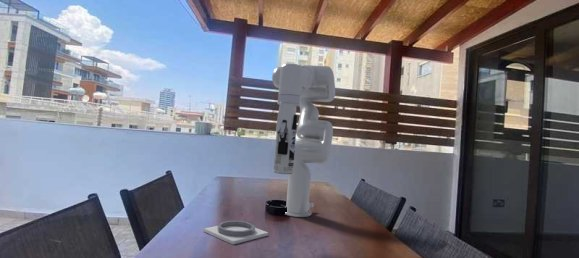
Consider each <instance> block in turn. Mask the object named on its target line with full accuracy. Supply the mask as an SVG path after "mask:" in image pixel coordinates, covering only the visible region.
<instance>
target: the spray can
mask: <svg viewBox="0 0 579 258" xmlns="http://www.w3.org/2000/svg"><path fill="white" fill-rule="evenodd" d="M297 126H298V115H297V114H296V115H294V118H293V126H292V131H291V134H289V135H288V142H287V143H288V153H287V155H283V154H278V142H279V136H280V132H279V131H278V133H276V134H275V144H274V145H275V147H274V148H275V149H274V158H273V159H274V160H273V173H275V174H278V175H289V174H292V173H293V165H294V153H295V140H297V139H296V137H297ZM286 127H287V125H286ZM280 130H281V129H280ZM285 133H287V131H286V129H285Z"/></svg>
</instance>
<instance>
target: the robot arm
mask: <svg viewBox="0 0 579 258" xmlns="http://www.w3.org/2000/svg"><path fill="white" fill-rule="evenodd" d="M271 75H272V77H271V80H272V84H273V86H274V87H276V88H277V89H278V94H277V95H278V97H277V105H279V107H278V113H277V117H276V118H277V120H276V125H275V126H276V128H275V132H276V133H278V131H279V132H280V136H279V142H278V154H283V155H287V153H288V143H287V142H288V135H289V134H291V131H292V126H293V118H294V115H297V107H299V111H300V112H299V113H300V114H299V117H298V118H299V119H298V121H297V127H296V137H297V138H298V139H296V140H295V153H294V165H293V173H292V174H288V180H287V189H286V190H287V191H286V192H287V193H286V205H285V208H286V207H287V212H285V214H284V215H286V216H289V217H295V218H307V217H310V216H311V215H312V211H311V210H310V208H314V206H315V203H313V202H310V193H311V192H310V191H311V179H312V173H311V169H310V167H309V166H308V164H316V165H325V164H327V163H328V162H329V159H330V156H331V149H332V143H333V136H334V135H333V133H334V128H333V124H332V122H331V121H328V120H321V119H319V117H320V113H319V110H318V108H317V107H316V105H314V103H313V102H323V103H330V102H332V101H333V100H334V99H335V97H336V83H335V75H334V71H333V69H332V68H331V67H330V66H327V65H312V64H311V65H309V64H308V65H300V64H298V63H297V64H296V63H284V64H282V65H281V66H277V67H276V68H275V69H274V70H273V72H272V74H271ZM286 125H287V127H286ZM280 129H281V130H280ZM285 129H286V131H287V133H285Z"/></svg>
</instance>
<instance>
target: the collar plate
mask: <svg viewBox="0 0 579 258" xmlns="http://www.w3.org/2000/svg"><path fill="white" fill-rule="evenodd" d="M203 232H204V233H207V234H208V235H211V236H212V237H215V238H217V239H219V240H222V241H225V242H226V243H228V244H231V245H236V244H241V243H245V242H248V241H251V240H255V239H261V238H264V237H268V236H269V232H267V231H265V230H262V229H260V228H257V227H256V226H255V225H254V224H253V223H250V222H247V221H241V220H226V221H220V222H219V223H218V224H217V225H214V226H211V227H205V228H203Z"/></svg>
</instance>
